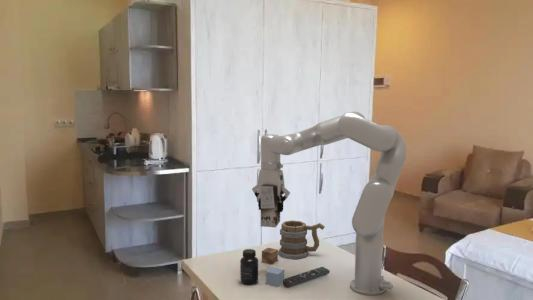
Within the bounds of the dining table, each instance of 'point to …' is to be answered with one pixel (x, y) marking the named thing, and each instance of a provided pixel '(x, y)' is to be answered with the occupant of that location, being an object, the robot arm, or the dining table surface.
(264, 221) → the coffee box
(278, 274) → the dusty-blue block
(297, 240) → the tankard
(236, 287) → the dining table surface
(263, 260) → the walnut block
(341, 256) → the dining table surface
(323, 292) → the dining table surface
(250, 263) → the supplement bottle
